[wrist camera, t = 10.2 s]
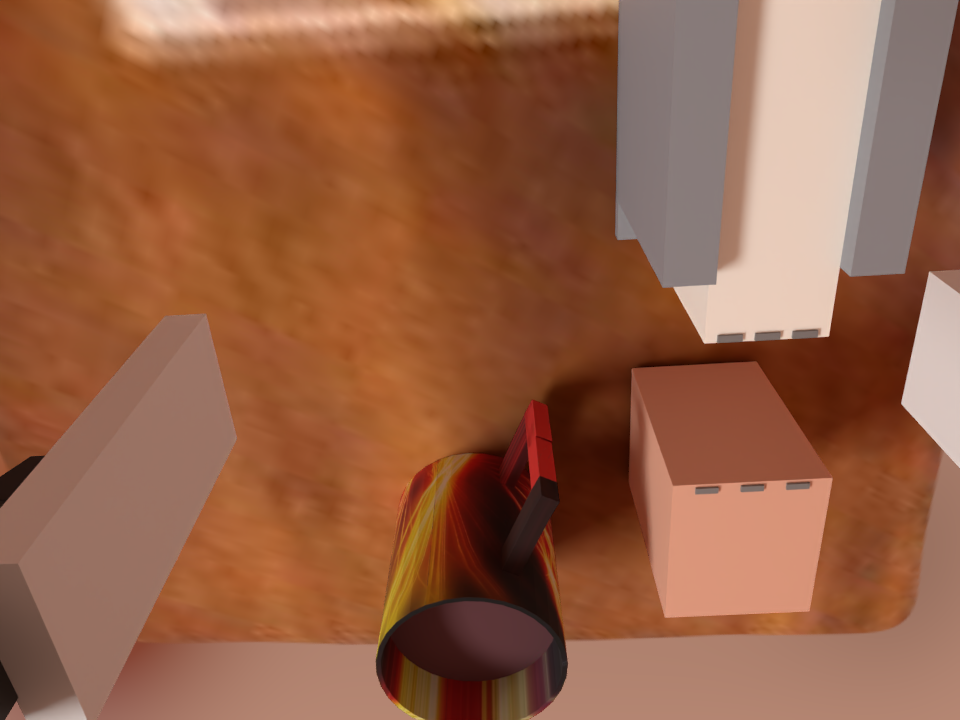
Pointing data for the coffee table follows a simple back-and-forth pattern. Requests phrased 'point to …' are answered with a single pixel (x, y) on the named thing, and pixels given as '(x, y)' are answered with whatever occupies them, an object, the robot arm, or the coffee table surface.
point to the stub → (724, 491)
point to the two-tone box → (774, 150)
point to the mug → (476, 586)
